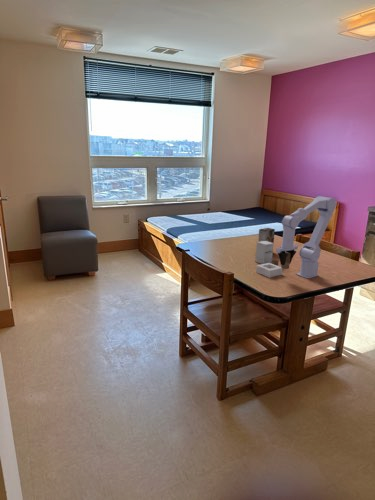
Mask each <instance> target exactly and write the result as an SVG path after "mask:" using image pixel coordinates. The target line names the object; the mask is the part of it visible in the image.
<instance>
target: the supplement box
mask: <svg viewBox="0 0 375 500" xmlns="http://www.w3.org/2000/svg"><path fill="white" fill-rule="evenodd" d="M255 247H256V248H255V257H254V259H255V260H254V261H255V262H256V263H258V264H259V265H261V264H266V263H271V262H272V260H273V254H274V253H273V250H274V243H271V242H268V241H261V242H258V241H257V242H256V246H255Z"/></svg>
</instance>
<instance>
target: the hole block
mask: <svg viewBox="0 0 375 500" xmlns="http://www.w3.org/2000/svg"><path fill="white" fill-rule="evenodd" d="M283 270H284V269H283V268H281V266H280V265H278V266H277V265H274V264H271V263H266V264H257V265H256V269H255V271H256V274H259V275H262V276H265V277H267V278H268V279H269V278H273V277H277V276H281V275H282V274H283Z"/></svg>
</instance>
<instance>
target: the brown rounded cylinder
mask: <svg viewBox="0 0 375 500" xmlns="http://www.w3.org/2000/svg"><path fill="white" fill-rule="evenodd" d="M285 252H286V251H285ZM286 253H288V252H286ZM290 255H291V253H288V255H287V257H286V261H285V265H281V264H280V265H281V266H280V267H281V268H283V269H282V270H288V269H290V264H291V263H290Z"/></svg>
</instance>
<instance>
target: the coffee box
mask: <svg viewBox="0 0 375 500" xmlns="http://www.w3.org/2000/svg"><path fill="white" fill-rule="evenodd" d="M275 229H276V228H270V227H264V228H260V229H259V230H258V241H257V242H261V241H268V242H271V243H274V241H275V231H276V230H275Z"/></svg>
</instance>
